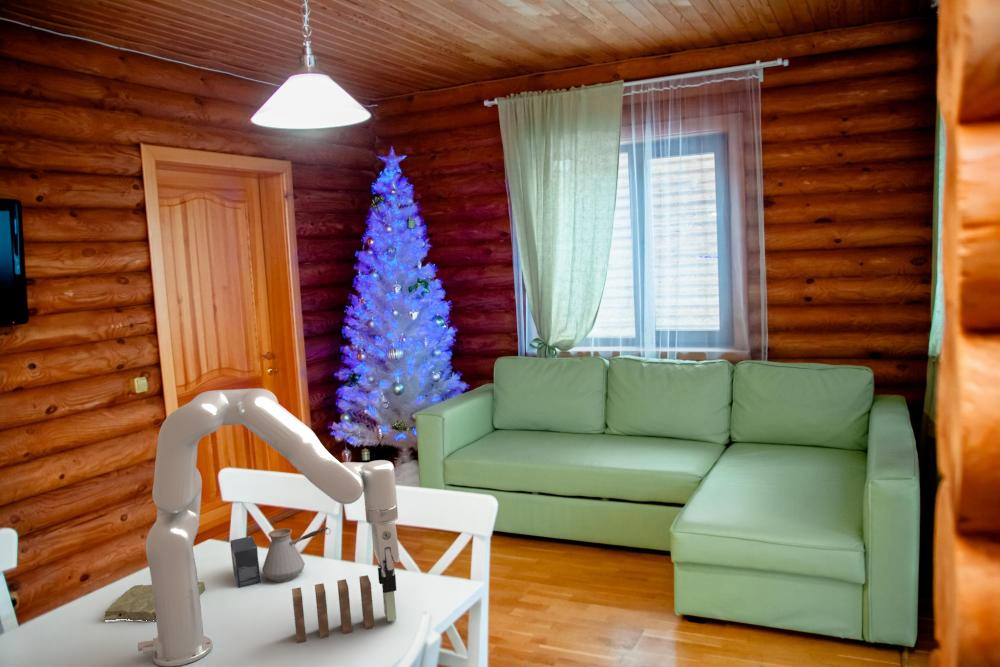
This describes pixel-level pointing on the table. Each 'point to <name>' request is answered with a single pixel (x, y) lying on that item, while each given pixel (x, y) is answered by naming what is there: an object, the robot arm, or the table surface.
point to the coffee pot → (284, 555)
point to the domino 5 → (389, 605)
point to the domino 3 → (344, 606)
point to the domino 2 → (322, 610)
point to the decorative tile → (137, 604)
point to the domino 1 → (299, 615)
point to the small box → (245, 561)
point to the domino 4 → (366, 601)
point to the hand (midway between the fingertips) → (387, 586)
